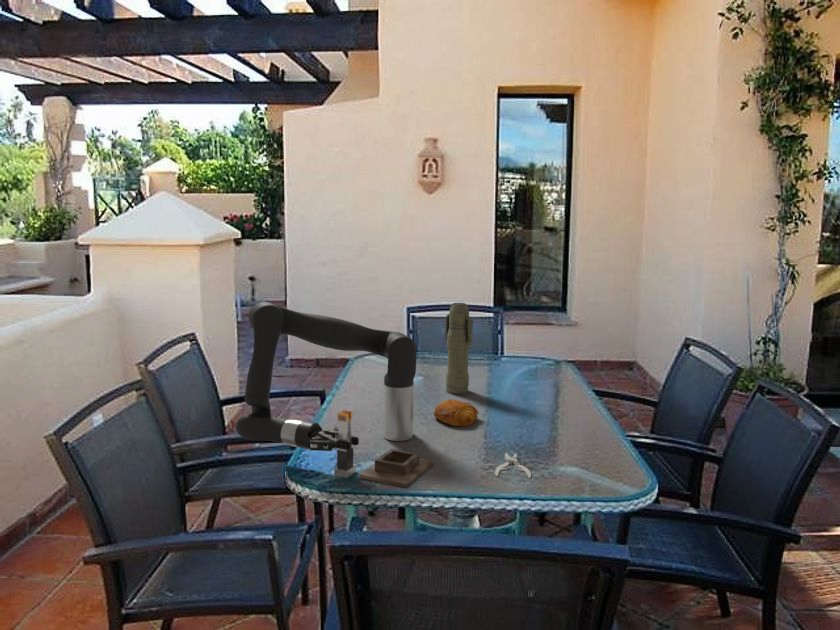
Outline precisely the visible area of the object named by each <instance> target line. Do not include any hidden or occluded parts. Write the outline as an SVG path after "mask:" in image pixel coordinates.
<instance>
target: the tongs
mask: <svg viewBox="0 0 840 630" xmlns="http://www.w3.org/2000/svg"><path fill="white" fill-rule="evenodd" d="M353 415H354V413H353V410H346V409H343V410H341V411H339V412H337V424H338V426H337V427H338V440H343V441H348V442H351V449H350V450H344V449H339V448H338V449H336V467H334V469H333V472H334V473H333V475H334V476H336V477H342V478H344V479H345V478H346V479H347V478H349V477H351V476H352V475H353V474H354V473H356V472H357V464H354V447H353V445H352V436H353Z"/></svg>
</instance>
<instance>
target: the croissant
mask: <svg viewBox="0 0 840 630" xmlns="http://www.w3.org/2000/svg"><path fill="white" fill-rule="evenodd" d="M478 415H479V410H478V408H476V407H475V406H474V405H473V404H470V403H468V402H465V401H462V400H457V399H448V400H444V401H442V402H440V403H438V404H437V405H436V406H435V408H434V410H433V416H434V418H436V420H437V419H438V420H439V421H441V422H443V423H445V424H447V425H450V426H453V427H467V426H469V425H472V424H474V422H476V421H477V420H478V418H479V416H478Z"/></svg>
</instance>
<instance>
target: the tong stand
mask: <svg viewBox="0 0 840 630" xmlns="http://www.w3.org/2000/svg"><path fill="white" fill-rule="evenodd" d="M433 465H434V460H431V459H426V458H420V453H416V452H411V451H410V452H409V451H405V450H399V449H394V448H390V449H388V450H387V451H386V452H384V453H383V454H382V455H380V456H379V457H378V458H376V459H375V460H374V463H372V465H371V466H370V465H369V467H367V468H366V469H364V471H362V472H360V473H359V474H358V475H359V477H358V478H359V479H364V480H367V481H372V482H378V483H383V484H387V485H392V486H397V487H398V486H399V487H402V488H407V487H408V486H410V485H411V484H412V483H413V482H415V480H416V479H418V478H419V476H421V475H422V474H423V473H424V472H426V471H427V470H428V469H429V468H430V467H432V466H433Z"/></svg>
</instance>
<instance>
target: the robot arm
mask: <svg viewBox="0 0 840 630" xmlns="http://www.w3.org/2000/svg"><path fill="white" fill-rule="evenodd" d="M248 323H249V324H250V326H251V328H252V329H253V340H254V341H253V351H252V357H251V359H250V360H251V361H250V364H249V368H248V373H247V376H246V384H245V391H244V402H245V404H246V405H248V406H250V407H251V413H248V414H244V415H242V416H241V417H239V418H238V419H237V421H236V422H235V423H236V424H235V429H236V433H237V434H238V435H239V437H241V438H243V439H244V440H249V441H258V442H259V441H261V442H264V441H265V442H267V441H269V442H274V443H279V444H283V445H288V446H290V447H293V448H294V447H295V448H299V449H300V448H301V449H306V450H310V451H319V452H320V451H324V452H332V451H333V450H338V448H339V449H344V450H350V449H351V442H348V441H343V440H338V426H334V427H333V430H330V429H328V428H325V429H324V428H322V426H321V425H320V424H319V423H317V422H313V421H307V420H302V419H292V418H291V419H289V418H286V417H285V418H284V417H276V416H275V417H272V411H271V403H270V396H271V389H272V380H273V379H272V378H273V370H274V362H275V357H276V351H277V347H278V343H279V340H280V335H287V336H291V337H295V338H298V339H301V340H302V341H305V342H308V343H310V344H314V345H316V346H320V347H324V348H328V349H333V350H336V351H344V352H359V351H360V352H367V353H371V354H375V355H378V356H380V357H381V356H382V357H384V358H386V359H387V372H386V374H384V377H383V438H384V439H386V440H388V441H394V442H403V441H409V440H410V439H412V438H413V433H414V432H413V431H414V428H413V427H414V379H415V377H416V373H417V372H416V371H417V357H418V356H417V345H416V343H415V341H414V340H413V339H412V338H411V337H409V336H408V335H406V334H404V333H402V332H400V331H391V330H383V329H382V330H381V329H374V328H371V327H366V326H363V325H361V324H358V323H355V322H352V321H348V320H344V319H341V318H338V317H337V318H336V317H333V316H332V317H331V316H327V315H321V314H315V313H305V312H299V311H295V310H291V309H289V308H285V307H282V306H279V305H277V304H275V303H272V302H269V301H261V302H258V303H256V304H254V305H253V306H252V307H251V308H250V310H249V311H248ZM359 444H360V438H359V437H358V436H354V435H352V446H358V445H359Z"/></svg>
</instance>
